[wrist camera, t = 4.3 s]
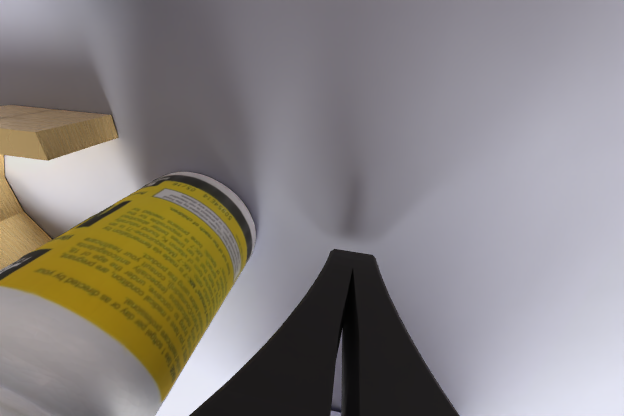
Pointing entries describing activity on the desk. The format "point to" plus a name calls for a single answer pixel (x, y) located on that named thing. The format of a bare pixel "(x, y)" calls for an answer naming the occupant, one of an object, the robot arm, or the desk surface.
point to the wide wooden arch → (45, 146)
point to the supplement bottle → (120, 300)
